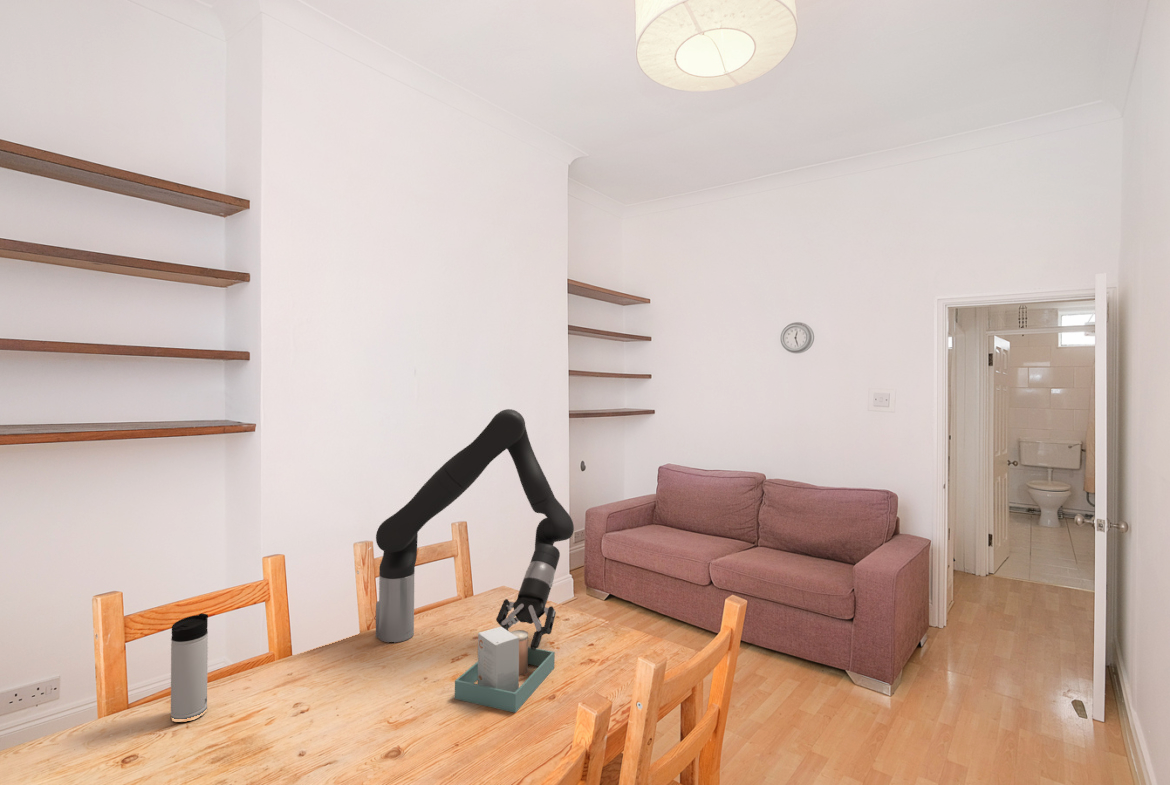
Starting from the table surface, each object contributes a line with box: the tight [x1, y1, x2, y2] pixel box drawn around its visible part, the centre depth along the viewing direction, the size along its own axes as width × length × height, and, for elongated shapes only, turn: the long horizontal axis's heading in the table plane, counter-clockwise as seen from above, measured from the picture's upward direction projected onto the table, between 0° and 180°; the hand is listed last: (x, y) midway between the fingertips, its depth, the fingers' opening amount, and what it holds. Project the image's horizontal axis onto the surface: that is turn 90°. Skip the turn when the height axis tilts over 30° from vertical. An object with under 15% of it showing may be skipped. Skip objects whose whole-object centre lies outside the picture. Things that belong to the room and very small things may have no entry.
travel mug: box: [170, 612, 209, 719], centre depth 120 cm, size 6×7×20 cm
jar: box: [510, 629, 529, 676], centre depth 141 cm, size 4×4×9 cm
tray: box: [454, 646, 556, 713], centre depth 135 cm, size 15×21×4 cm
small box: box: [476, 626, 520, 692], centre depth 131 cm, size 8×6×13 cm
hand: (516, 645), depth 139 cm, fingers open, 8 cm apart
